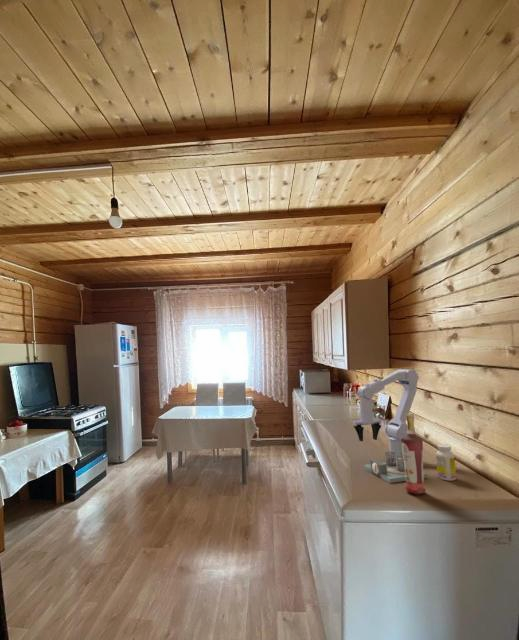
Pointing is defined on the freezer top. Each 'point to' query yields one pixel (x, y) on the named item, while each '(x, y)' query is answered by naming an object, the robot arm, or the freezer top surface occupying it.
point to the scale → (387, 471)
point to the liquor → (413, 459)
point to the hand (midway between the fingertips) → (368, 440)
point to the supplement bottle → (445, 463)
